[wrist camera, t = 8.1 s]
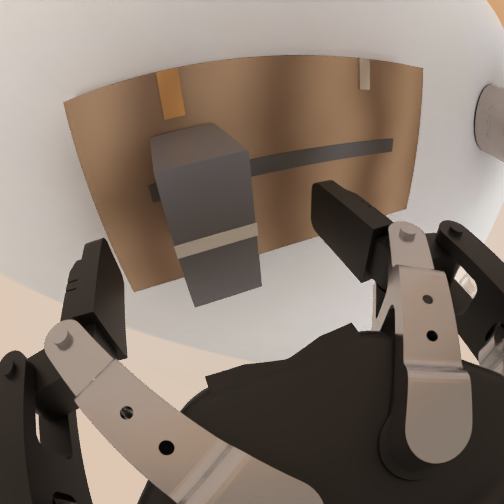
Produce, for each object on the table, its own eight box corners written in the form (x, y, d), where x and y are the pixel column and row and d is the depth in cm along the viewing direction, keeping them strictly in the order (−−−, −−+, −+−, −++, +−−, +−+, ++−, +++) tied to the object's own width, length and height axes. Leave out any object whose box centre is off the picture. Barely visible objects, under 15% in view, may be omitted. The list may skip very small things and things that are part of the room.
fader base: (398, 63, 16) (425, 68, 14) (387, 195, 24) (407, 209, 22) (75, 97, 11) (62, 102, 9) (132, 267, 19) (134, 294, 17)
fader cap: (213, 122, 12) (250, 151, 9) (229, 227, 16) (263, 287, 12) (149, 138, 12) (153, 174, 8) (176, 242, 15) (195, 309, 12)
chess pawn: (459, 254, 38) (495, 288, 31) (461, 265, 41) (493, 297, 35) (441, 276, 39) (476, 312, 33) (444, 286, 42) (476, 318, 36)
